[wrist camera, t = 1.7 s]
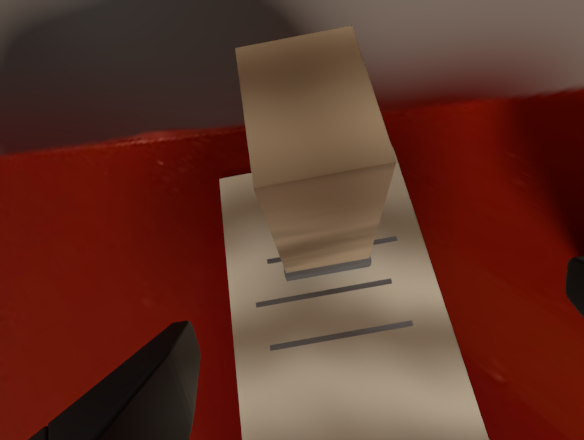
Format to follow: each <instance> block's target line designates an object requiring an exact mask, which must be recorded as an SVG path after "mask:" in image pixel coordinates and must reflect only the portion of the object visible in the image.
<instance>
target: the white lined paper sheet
mask: <svg viewBox="0 0 584 440" xmlns="http://www.w3.org/2000/svg"><path fill="white" fill-rule="evenodd" d="M392 149H393V147H392ZM393 152H394V149H393ZM394 155H395V152H394ZM395 158H396V155H395ZM396 161H397V158H396ZM219 182H220V193H221V205H222V216H223V227H224V239H225V250H226V261H227V273H228V284H229V295H230V307H231V318H232V329H233V341H234V352H235V363H236V375H237V386H238V397H239V409H240V420H241V432H242V440H489V438H488V435H487V432H486V429H485V426H484V423H483V420H482V417H481V414H480V411H479V408H478V405H477V402H476V399H475V395H474V392H473V389H472V386H471V383H470V380H469V377H468V374H467V371H466V368H465V365H464V362H463V359H462V356H461V353H460V350H459V347H458V344H457V341H456V338H455V335H454V331H453V328H452V325H451V322H450V319H449V316H448V313H447V310H446V307H445V304H444V301H443V298H442V295H441V292H440V289H439V286H438V283H437V280H436V277H435V274H434V271H433V267H432V264H431V261H430V258H429V255H428V252H427V249H426V246H425V243H424V240H423V237H422V234H421V231H420V228H419V225H418V222H417V219H416V216H415V213H414V210H413V207H412V203H411V200H410V197H409V194H408V191H407V188H406V185H405V182H404V179H403V176H402V173H401V170H400V167H399V164H398V161H397V162H396V165H395V169H394V172H393V176H392V179H391V183H390V187H389V190H388V194H387V197H386V201H385V204H384V208H383V211H382V215H381V218H380V222H379V225H378V229H377V232H376V236H375V239H374V243H373V246H372V250H371V253H370V257H371V260H372V262H371V265H370V267H364V268H359V269H353V270H348V271H342V272H336V273H331V274H325V275H320V276H314V277H309V278H303V279H298V280H292V281H287V280H286V278H285V274H284V267H283V264H282V261H281V258H280V256H279V253H278V251H277V248H276V245H275V243H274V240H273V238H272V235H271V232H270V230H269V227H268V225H267V222H266V220H265V217H264V214H263V212H262V209H261V207H260V204H259V201H258V199H257V196H256V194H255V191H254V188H253V181H252V173H248V174H243V175H237V176H232V177H227V178H221V179H219Z"/></svg>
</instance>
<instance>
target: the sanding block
mask: <svg viewBox="0 0 584 440" xmlns="http://www.w3.org/2000/svg"><path fill="white" fill-rule="evenodd" d="M235 51H236V59H237V67H238V74H239V82H240V89H241V97H242V104H243V112H244V120H245V128H246V135H247V143H248V151H249V158H250V166H251V173H252V181H253V188H254V191H255V194H256V196H257V199H258V201H259V204H260V207H261V209H262V212H263V214H264V217H265V220H266V222H267V225H268V227H269V230H270V232H271V235H272V238H273V240H274V243H275V245H276V248H277V251H278V253H279V256H280V258H281V261H282V264H283V267H284V274H285V278H286V280H287V281H292V280H298V279H303V278H309V277H314V276H320V275H325V274H331V273H336V272H342V271H348V270H353V269H359V268H364V267H370V265H371V262H372V260H371V257H370V253H371V250H372V246H373V243H374V239H375V236H376V232H377V229H378V225H379V222H380V218H381V215H382V211H383V208H384V204H385V201H386V197H387V194H388V190H389V187H390V183H391V179H392V176H393V172H394V169H395V165H396V162H397V161H396V158H395V155H394V152H393V149H392V146H391V143H390V140H389V137H388V134H387V131H386V128H385V125H384V122H383V119H382V116H381V113H380V109H379V106H378V103H377V101H376V97H375V94H374V91H373V88H372V85H371V82H370V79H369V76H368V73H367V70H366V67H365V64H364V61H363V58H362V54H361V51H360V48H359V45H358V42H357V40H356V36H355V33H354V30H353V27H352V26H347V27H342V28H337V29H333V30H327V31H322V32H317V33H312V34H307V35H301V36H296V37H291V38H286V39H280V40H276V41H270V42H265V43H260V44H255V45H250V46H244V47H239V48H235Z"/></svg>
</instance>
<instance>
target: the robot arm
mask: <svg viewBox="0 0 584 440" xmlns="http://www.w3.org/2000/svg"><path fill="white" fill-rule="evenodd" d="M565 291H566V295H567V297H568V299H569V300H570V302H571V303H572V304H573V305H574V306H575V308H576V309H577V310H578V311H579V313H580V314H581V315H582V316H583V318H584V256H579V257H574V258H571V259H570V260H569V262H568V265H567V275H566V286H565ZM199 366H200V349H199V345H198V342H197V339H196V336H195V332H194V329H193V326H192V324H191V322H189V321H181V322H175V323H172V324H171V325H169V326H168V327H167V328H166V329H164V330H163V331H162V332H161V333H160V334H158V335H157V336H156V337H155V338H153V339H152V340H151V341H150V342H148V343H147V344H146V345H145V346H143V347H142V348H141V349H140V350H139V351H137V352H136V353H135V354H134V355H132V356H131V357H130V358H129V359H127V360H126V361H125V362H124V363H122V364H121V365H120V366H119V367H118V368H116V369H115V370H114V371H113V372H111V373H110V374H109V375H108V376H106V377H105V378H104V379H103V380H101V381H100V382H99V383H98V384H97V385H95V386H94V387H93V388H92V389H90V390H89V391H88V392H87V393H85V394H84V395H83V396H82V397H80V398H79V399H78V400H77V401H76V402H74V403H73V404H72V405H71V406H69V407H68V408H67V409H66V410H64V411H63V412H62V413H61V414H59V415H58V416H57V417H56V418H55V419H53V420H52V421H51V422H50V423H49V424H48V427H47V426H45V427H43V428H42V429H41V430H40V431H38V432H37V433H36V434H35V435H33V436H32V437H31V438H30V439H29V440H189V437H190V433H191V428H192V423H193V418H194V411H195V402H196V393H197V384H198V375H199Z"/></svg>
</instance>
